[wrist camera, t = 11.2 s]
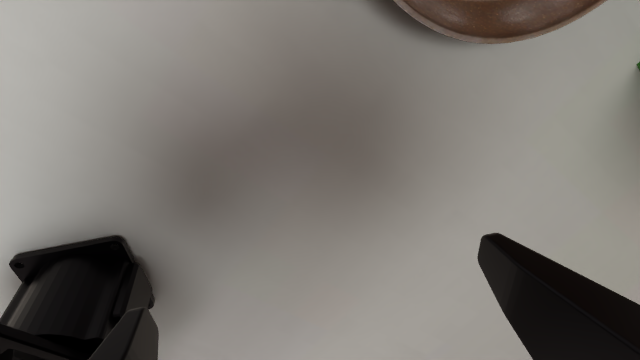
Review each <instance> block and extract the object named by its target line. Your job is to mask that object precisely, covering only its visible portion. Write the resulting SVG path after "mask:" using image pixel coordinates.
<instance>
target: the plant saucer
mask: <svg viewBox="0 0 640 360" xmlns="http://www.w3.org/2000/svg"><path fill="white" fill-rule="evenodd" d="M393 1H394V2H395V3H396V4H397V5H398V6H400V7H401V8H402V9H403V10H404V11H405V12H406V13H408V14H409V15H410V16H411V17H413V18H414V19H416V20H417V21H418V22H420V23H422V24H424V25H425V26H427V27H429V28H430V29H432V30H434V31H436V32H438V33H441V34H444V35H446V36H449V37H452V38H455V39H459V40H463V41H467V42H474V43H487V44H497V43H510V42H515V41H521V40H526V39H531V38H535V37H537V36H540V35H543V34H546V33H549V32H552V31H554V30H557V29H559V28H561V27H563V26H565V25H567V24H569V23H571V22H573V21H575V20H577V19H579V18H581V17H582V16H584V15H585V14H587V13H589V12H590V11H592V10H593V9H595V8H597V7H598V6H600V5H601V4H602V3H604V2H605V1H607V0H393Z"/></svg>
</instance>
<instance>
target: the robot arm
mask: <svg viewBox="0 0 640 360" xmlns="http://www.w3.org/2000/svg"><path fill="white" fill-rule="evenodd" d="M113 244H117V245H118V246H115V245H113ZM19 262H20V263H19ZM478 262H479V265H480V267H481V269H482V271H483V273H484V275H485V277H486V279H487V281H488V283H489V285H490V287H491V289H492V291H493V293H494V295H495V297H496V299H497V301H498V303H499V305H500V307H501V309H502V311H503V313H504V314H505V316H506V318H507V319H508V321H509V323H510V324H511V326H512V327H513V329H514V330H515V332H516V334H517V335H518V337H519V338H520V340H521V341H522V343H523V345H524V346H525V348H526V349H527V351H528V352H529V354H530V355H531V357H532V359H533V360H640V305H639V304H637V303H635V302H633V301H631V300H629V299H627V298H625V297H623V296H621V295H619V294H618V293H616V292H614V291H612V290H610V289H608V288H606V287H604V286H602V285H600V284H598V283H596V282H594V281H592V280H590V279H588V278H586V277H584V276H582V275H580V274H578V273H576V272H574V271H572V270H570V269H568V268H566V267H564V266H563V265H561V264H559V263H557V262H555V261H553V260H551V259H549V258H547V257H545V256H543V255H541V254H539V253H537V252H535V251H533V250H531V249H529V248H527V247H525V246H523V245H521V244H519V243H517V242H515V241H513V240H511V239H510V238H508V237H506V236H504V235H502V234H499V233H491V234H487V235H484V236H483V237H482V238H481V242H480V247H479V252H478ZM21 263H23V264H21ZM9 265H10V267H11V269H12V270H13V271H14V272H15V274H16V275H17V276H18V278H19V279H20V280H21V281H22V284H21V286H20V287H19V289H18V291H17V292H16V294H15V296H14V297H13V299H12V300H11V302H10V304H9V305H8V307H7V309H6V310H5V312H4V313H3V315H2V317H1V318H0V360H158V337H159V333H158V327H157V325H156V323H155V321H154V319H153V318H152V316H151V314H150V312H149V310H148V309H151V308H152V307H153V306H154V302H155V299H154V297H153V295H152V293H151V292H152V288H151V286H150V284H149V282H148V280H147V278H146V276H145V274H144V272H143V270H142V268H141V266H140V264H138V263H137V262H135V260H134V258H133V256H132V254H131V252H130V250H129V248H128V246H127V245H126V243H125V241H124V240H123V239H122V238H120V237H109V238H104V239H98V240H93V241H88V242H83V243H77V244H72V245H67V246H61V247H56V248H51V249H46V250H40V251H35V252H30V253H25V254H19V255H16V256H14V257H13V258H12V260H11V261H10V263H9Z"/></svg>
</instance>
